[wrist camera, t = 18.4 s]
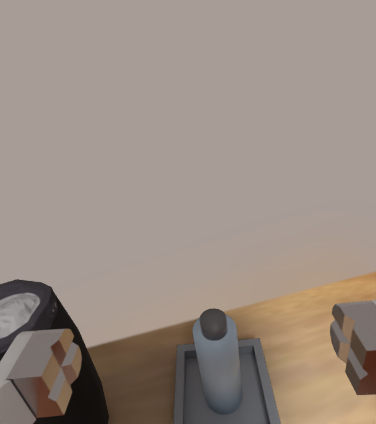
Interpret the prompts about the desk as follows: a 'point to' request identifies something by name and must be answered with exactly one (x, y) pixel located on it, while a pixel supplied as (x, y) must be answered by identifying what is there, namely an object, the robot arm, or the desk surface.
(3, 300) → the portable speaker
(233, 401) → the blue bottle
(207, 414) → the box
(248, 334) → the desk surface
